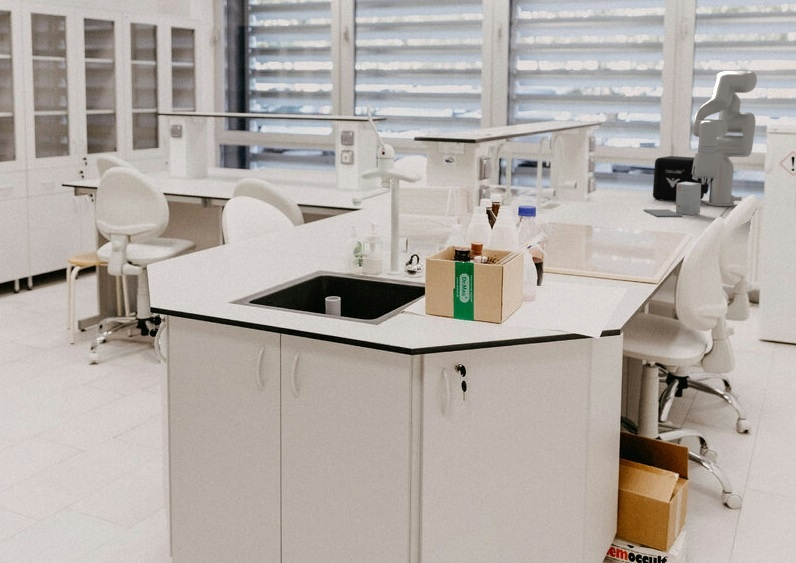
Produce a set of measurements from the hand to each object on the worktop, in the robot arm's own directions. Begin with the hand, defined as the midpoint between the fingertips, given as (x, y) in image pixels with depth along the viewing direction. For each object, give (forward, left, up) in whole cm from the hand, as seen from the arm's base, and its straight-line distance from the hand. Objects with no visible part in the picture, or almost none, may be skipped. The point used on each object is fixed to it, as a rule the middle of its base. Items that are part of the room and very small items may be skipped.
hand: (703, 193), depth 391 cm
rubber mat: (+17, 0, -9) cm, 19 cm away
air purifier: (-5, -45, -9) cm, 46 cm away
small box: (+6, 0, -9) cm, 11 cm away
